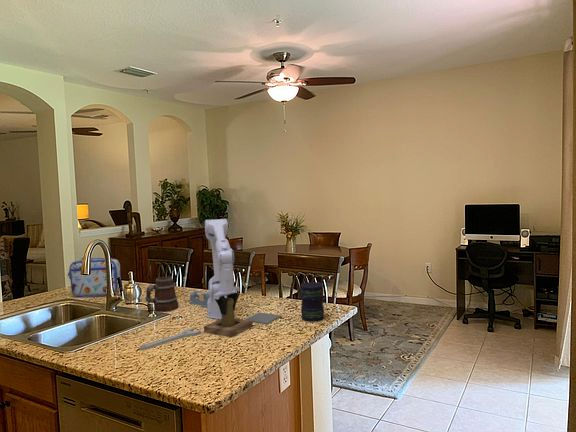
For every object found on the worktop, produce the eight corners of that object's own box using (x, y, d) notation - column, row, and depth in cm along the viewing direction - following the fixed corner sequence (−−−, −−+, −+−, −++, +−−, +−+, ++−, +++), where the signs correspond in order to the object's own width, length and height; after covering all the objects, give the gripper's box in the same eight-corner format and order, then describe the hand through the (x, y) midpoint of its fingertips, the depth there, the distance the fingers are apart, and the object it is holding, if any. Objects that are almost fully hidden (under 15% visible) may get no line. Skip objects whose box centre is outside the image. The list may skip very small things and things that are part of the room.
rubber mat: (243, 320, 187) (243, 319, 187) (258, 313, 197) (258, 312, 197) (267, 324, 181) (267, 323, 181) (281, 316, 191) (281, 315, 191)
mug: (170, 303, 219) (169, 274, 218) (182, 308, 210) (181, 278, 209) (141, 310, 209) (139, 280, 208) (152, 315, 200) (150, 283, 199)
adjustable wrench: (141, 352, 155) (141, 347, 155) (134, 347, 160) (134, 343, 160) (202, 334, 172) (202, 330, 172) (194, 330, 177) (194, 326, 176)
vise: (221, 304, 216) (220, 291, 216) (204, 308, 209) (203, 295, 208) (200, 298, 229) (200, 286, 228) (183, 302, 221) (183, 289, 221)
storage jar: (309, 313, 194) (308, 281, 193) (328, 317, 188) (327, 283, 187) (297, 319, 186) (295, 285, 185) (316, 323, 180) (315, 288, 179)
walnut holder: (204, 332, 173) (203, 326, 173) (225, 322, 185) (225, 316, 185) (232, 337, 166) (231, 331, 166) (252, 326, 178) (252, 320, 178)
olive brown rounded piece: (221, 323, 178) (220, 296, 178) (236, 322, 179) (235, 296, 178) (220, 327, 172) (219, 300, 172) (235, 326, 172) (234, 299, 172)
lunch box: (66, 298, 237) (63, 259, 236) (74, 294, 248) (72, 256, 246) (117, 296, 239) (114, 257, 237) (123, 292, 249) (121, 254, 248)
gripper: (223, 284, 166) (224, 318, 167) (244, 276, 179) (246, 308, 180) (208, 282, 170) (210, 316, 171) (231, 275, 182) (232, 307, 183)
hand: (227, 312), depth 175 cm, fingers closed on olive brown rounded piece, 5 cm apart
